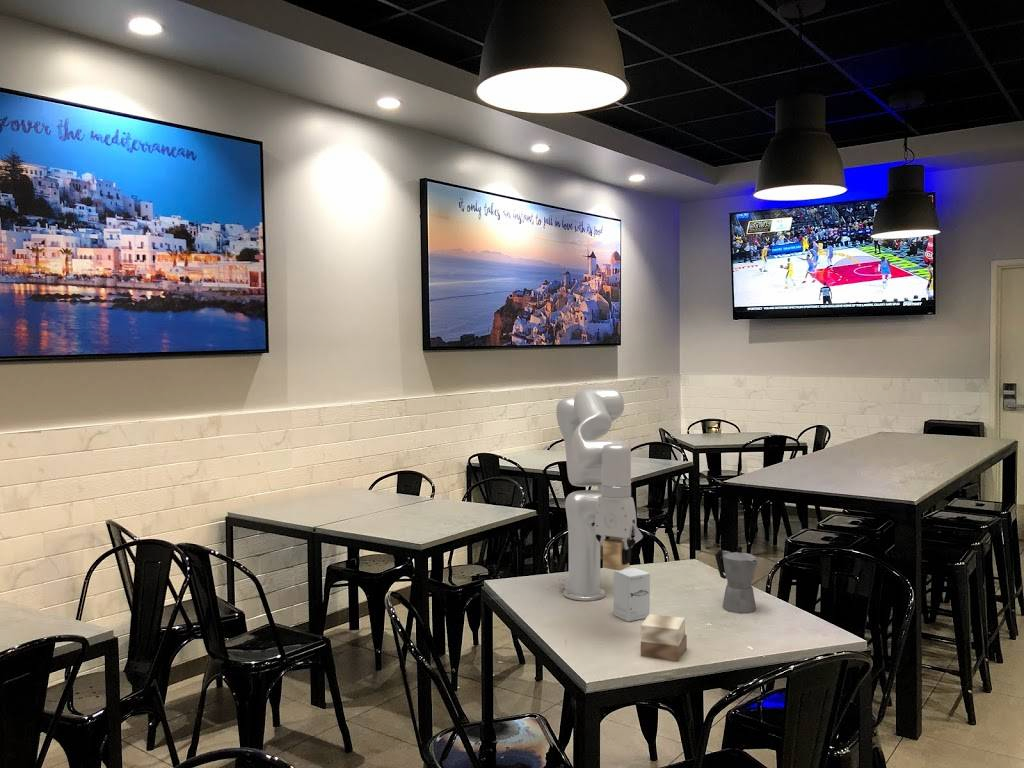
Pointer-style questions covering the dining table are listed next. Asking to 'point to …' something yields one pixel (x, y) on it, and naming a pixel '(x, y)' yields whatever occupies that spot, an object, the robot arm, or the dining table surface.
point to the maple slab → (663, 629)
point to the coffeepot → (738, 580)
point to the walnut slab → (664, 650)
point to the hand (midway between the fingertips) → (616, 561)
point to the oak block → (613, 554)
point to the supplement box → (631, 594)
